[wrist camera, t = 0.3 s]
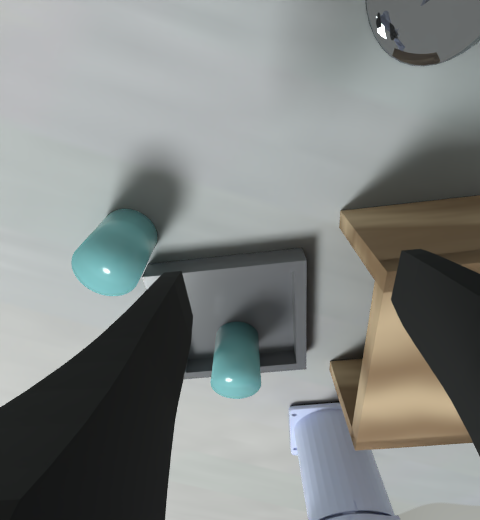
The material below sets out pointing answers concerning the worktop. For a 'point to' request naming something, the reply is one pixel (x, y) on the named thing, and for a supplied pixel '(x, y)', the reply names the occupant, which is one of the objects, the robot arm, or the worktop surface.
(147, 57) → the worktop surface
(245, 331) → the teal rounded cylinder
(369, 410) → the shelf
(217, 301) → the tray
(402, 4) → the wine glass
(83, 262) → the teal rounded capsule
